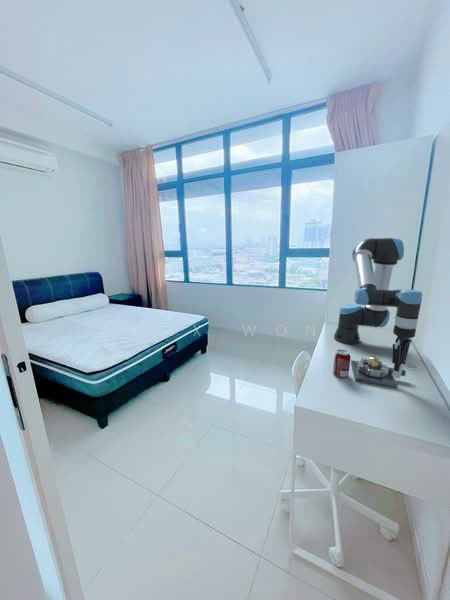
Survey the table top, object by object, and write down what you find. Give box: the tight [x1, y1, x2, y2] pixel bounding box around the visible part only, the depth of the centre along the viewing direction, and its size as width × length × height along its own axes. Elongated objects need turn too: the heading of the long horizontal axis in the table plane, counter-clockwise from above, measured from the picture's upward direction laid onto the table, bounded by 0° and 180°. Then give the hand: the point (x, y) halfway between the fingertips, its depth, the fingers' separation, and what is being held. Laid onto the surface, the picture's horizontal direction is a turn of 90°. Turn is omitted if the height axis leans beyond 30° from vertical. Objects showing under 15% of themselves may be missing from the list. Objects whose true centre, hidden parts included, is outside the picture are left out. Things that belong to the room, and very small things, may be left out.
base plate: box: [350, 355, 398, 389], centre depth 117 cm, size 18×16×9 cm
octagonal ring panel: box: [358, 358, 407, 377], centre depth 116 cm, size 19×12×4 cm, turn 69°
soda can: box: [332, 348, 351, 378], centre depth 117 cm, size 7×7×12 cm
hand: (396, 376), depth 109 cm, fingers closed
